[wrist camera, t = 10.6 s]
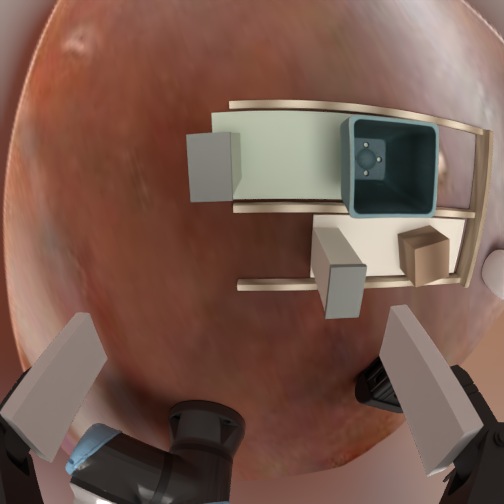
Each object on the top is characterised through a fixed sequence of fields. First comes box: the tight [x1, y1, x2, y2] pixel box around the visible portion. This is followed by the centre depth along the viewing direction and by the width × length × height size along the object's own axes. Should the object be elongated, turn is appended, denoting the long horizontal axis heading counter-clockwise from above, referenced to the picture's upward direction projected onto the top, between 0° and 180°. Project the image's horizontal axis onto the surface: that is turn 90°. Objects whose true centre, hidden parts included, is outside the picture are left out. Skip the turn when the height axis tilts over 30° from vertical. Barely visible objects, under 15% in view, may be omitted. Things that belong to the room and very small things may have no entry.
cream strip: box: [310, 214, 465, 319], centre depth 29 cm, size 22×8×11 cm, turn 92°
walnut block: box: [397, 225, 450, 287], centre depth 31 cm, size 5×5×5 cm
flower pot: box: [340, 114, 439, 219], centre depth 26 cm, size 9×9×9 cm
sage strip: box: [186, 111, 381, 202], centre depth 25 cm, size 22×10×11 cm, turn 92°
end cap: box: [355, 357, 403, 413], centre depth 41 cm, size 10×7×7 cm
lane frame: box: [229, 100, 493, 291], centre depth 31 cm, size 33×22×3 cm
